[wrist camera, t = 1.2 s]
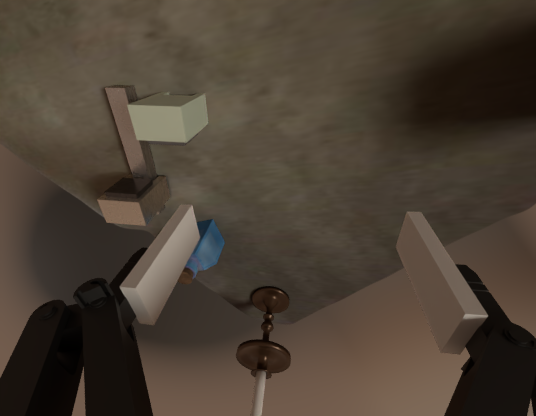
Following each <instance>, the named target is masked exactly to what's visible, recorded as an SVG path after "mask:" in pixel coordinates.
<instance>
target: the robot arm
mask: <svg viewBox="0 0 536 416" xmlns="http://www.w3.org/2000/svg"><path fill="white" fill-rule="evenodd" d="M199 239H200V235H199V231H198V227H197V223H196V219H195V215H194V211H193V207H192V205H183V204H181V205H180V206H179V207H178V209H177V210H176V212H175V213H174V214H173V216H172V217H171V218H170V220H169V221H168V222H167V224H166V225H165V226H164V228H163V229H162V230H161V232H160V233H159V234H158V236H157V237H156V238H155V240H154V241H153V243H152V244H151V245H150V246H149V248H141V249H140V250H138V251H137V252H136V253H135V254H133V255H132V257H131V258H130V259H129V261H128V263H126V264H125V266H124V267H123V269H121V271H120V272H119V273H118V274H117V276H116V277H115V278H114V279H113V281H112V282H111V283H110V284H109V285H108V283H107V281H106V280H105V279H103V278H95V279H92V280H89V281H87V282H85V283H83V284H82V285H81V286H80V287H78V289H77V290H76V291H75V293H74V296H73V298H74V299H75V301H76V302H77V303H78V304H74V305H69V306H66V304H65V303H64V302H63V301H62V300H52V301H50V302H47V303H45V304H43V305H42V306H40V307H39V308H38V309H36V310H35V311H34V312H33V314H32V315H31V316H30V318H29V320H28V322H27V324H26V326H25V328H24V330H23V332H22V334H21V336H20V339H19V340H18V343H17V345H16V347H15V349H14V351H13V353H12V355H11V357H10V359H9V361H8V363H7V366H6V368H5V370H4V372H3V374H2V376H1V378H0V416H72V412H73V408H74V403H75V399H76V395H77V391H78V387H79V383H80V379H81V374H82V370H83V366H84V380H85V381H84V382H85V409H86V416H153V413H152V408H151V403H150V399H149V394H148V390H147V386H146V381H145V376H144V372H143V368H142V363H141V358H140V355H139V350H138V345H137V340H136V336H135V331H134V327H133V325H132V322H133V320H134V319H135V317H136V318H137V319H138V321H139V323H140V324H150V325H154V324H155V322H156V320H157V318H158V316H159V315H160V313H161V311H162V309H163V307H164V305H165V303H166V301H167V299H168V298H169V296H170V294H171V292H172V290H173V288H174V286H175V284H176V282H177V280H178V279H179V277H180V275H181V273H182V271H183V269H184V267H185V265H186V263H187V261H188V260H189V258H190V256H191V254H192V252H193V250H194V248H195V246H196V244H197V242H198V241H199ZM396 249H397V251H398V253H399V256H400V258H401V260H402V263H403V265H404V267H405V270H406V272H407V275H408V277H409V279H410V282H411V284H412V286H413V289H414V291H415V293H416V296H417V298H418V300H419V303H420V305H421V307H422V310H423V312H424V315H425V317H426V319H427V321H428V324H429V326H430V329H431V331H432V333H433V336H434V338H435V341H436V343H437V345H438V347H439V350H440V352H441V353H450V354H461V352H462V351H463V350H464V348H465V347H466V348H467V350H468V352H469V354H470V358H469V359H468V360H467V362H466V363H465V364H464V365H463V367H462V368H461V370H463V372H462V375H461V377H460V380H459V382H458V384H457V387H456V389H455V391H454V394H453V396H452V399H451V401H450V403H449V406H448V408H447V410H446V413H445V415H444V416H527V413H528V408H529V404H530V399H531V400H532V407H533V413H534V416H536V338H535V337H534V336H533V335H532V334H531V333H530V332H528V331H527V330H525V329H524V328H522V327H521V326H519V325H516V324H514V323H512V322H511V321H510V320H509V319H508V317H507V316H506V315H505V313H504V312H503V310H502V309H501V307H500V306H499V305H498V303H497V302H496V301H495V299H494V298H493V296H492V295H491V293H489V292H488V289H487V288H486V286H485V285H483V282H482V281H481V279H480V278H479V277H478V275H477V274H476V273H475V272H474V271H473V270H471V269H470V268H469V267H468V266H466V265H456V264H454V262H453V261H452V259H451V258H450V256H449V255H448V253H447V251H446V250H445V248H444V247H443V245H442V244H441V242H440V241H439V239H438V238H437V236H436V234H435V233H434V231H433V230H432V228H431V227H430V225H429V224H428V222H427V221H426V219H425V218H424V216H423V215H422V213H421V212H407V213H406V216H405V219H404V222H403V225H402V229H401V232H400V235H399V238H398V241H397V245H396Z"/></svg>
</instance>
